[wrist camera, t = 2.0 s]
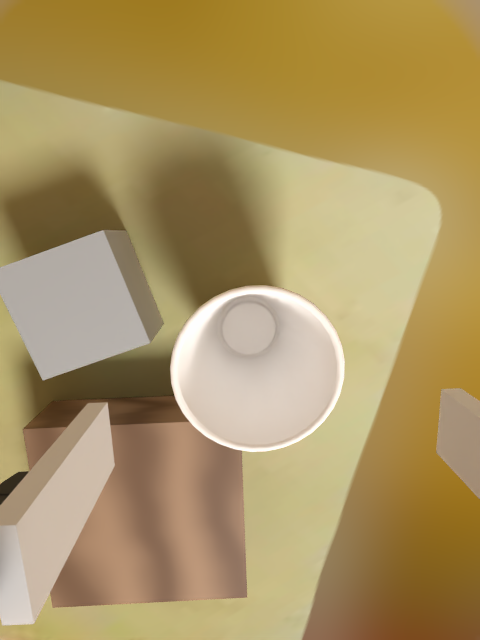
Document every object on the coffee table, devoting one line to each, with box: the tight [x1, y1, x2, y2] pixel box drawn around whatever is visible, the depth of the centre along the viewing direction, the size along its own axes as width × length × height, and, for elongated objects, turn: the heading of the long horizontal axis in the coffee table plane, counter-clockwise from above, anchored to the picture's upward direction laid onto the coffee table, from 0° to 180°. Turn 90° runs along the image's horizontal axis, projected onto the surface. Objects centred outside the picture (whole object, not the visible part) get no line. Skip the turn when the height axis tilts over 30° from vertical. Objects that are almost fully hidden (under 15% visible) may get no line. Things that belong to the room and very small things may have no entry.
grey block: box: [0, 230, 164, 380], centre depth 29 cm, size 8×8×6 cm
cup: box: [170, 285, 345, 452], centre depth 28 cm, size 10×10×11 cm
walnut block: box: [23, 396, 247, 608], centre depth 33 cm, size 16×16×5 cm
